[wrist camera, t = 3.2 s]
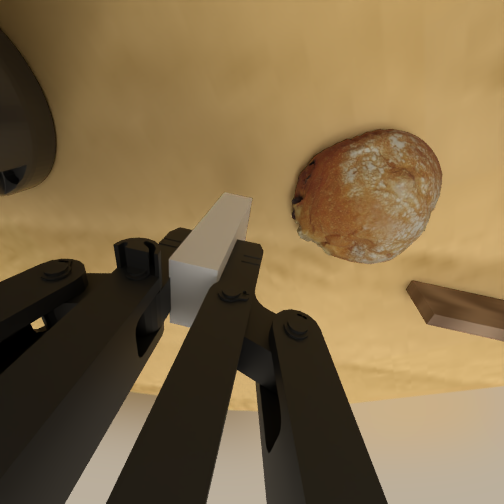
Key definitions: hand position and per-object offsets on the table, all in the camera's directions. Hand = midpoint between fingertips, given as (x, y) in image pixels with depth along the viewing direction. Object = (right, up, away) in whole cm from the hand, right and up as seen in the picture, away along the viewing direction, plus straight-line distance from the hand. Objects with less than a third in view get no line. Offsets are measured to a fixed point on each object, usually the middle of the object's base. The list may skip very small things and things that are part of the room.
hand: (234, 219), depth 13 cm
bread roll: (+10, +3, +8) cm, 12 cm away
